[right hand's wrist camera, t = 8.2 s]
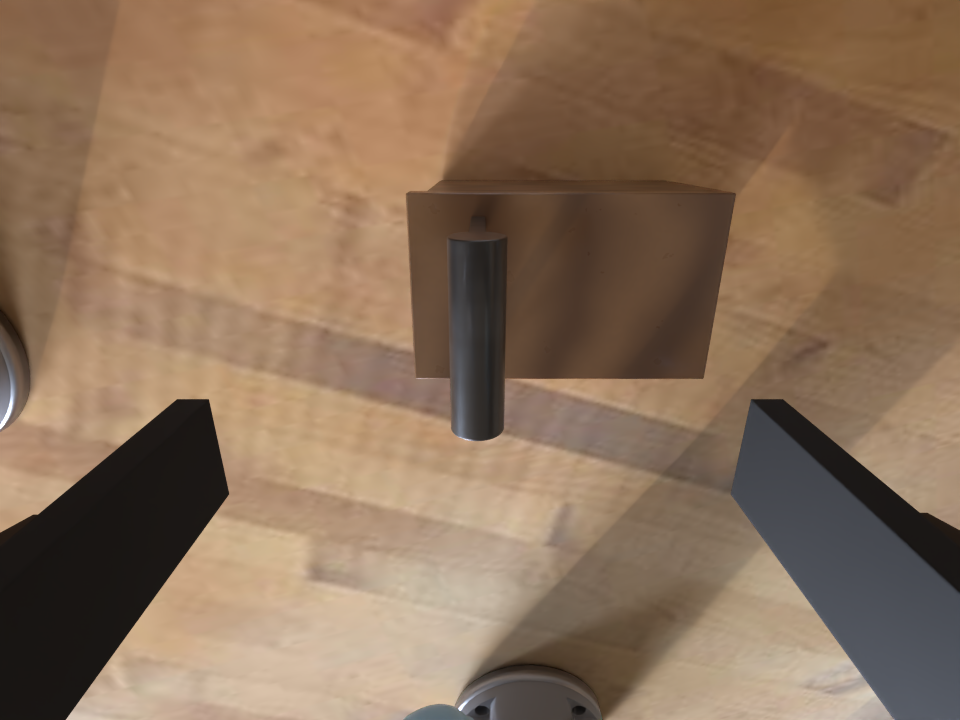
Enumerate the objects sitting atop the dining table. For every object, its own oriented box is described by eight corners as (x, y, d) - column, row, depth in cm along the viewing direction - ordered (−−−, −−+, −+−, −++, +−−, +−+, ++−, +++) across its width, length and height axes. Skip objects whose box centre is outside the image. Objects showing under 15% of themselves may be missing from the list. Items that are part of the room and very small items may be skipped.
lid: (417, 370, 30) (391, 461, 21) (408, 191, 26) (373, 212, 18) (695, 371, 30) (783, 462, 21) (726, 191, 26) (847, 212, 18)
